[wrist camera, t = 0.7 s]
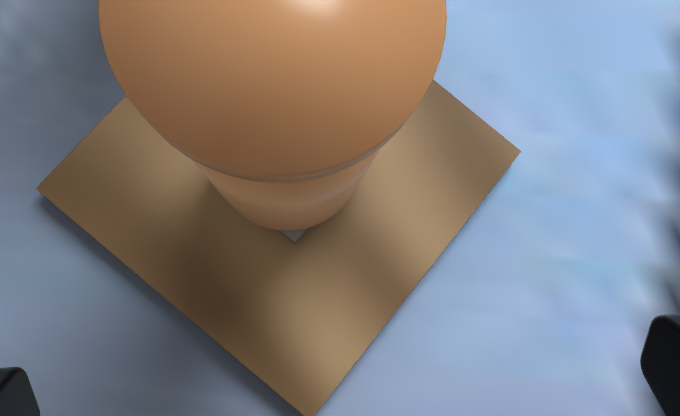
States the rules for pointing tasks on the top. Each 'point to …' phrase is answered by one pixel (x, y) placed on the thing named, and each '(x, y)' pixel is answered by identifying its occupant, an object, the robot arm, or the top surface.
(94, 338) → the top surface
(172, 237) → the thin square board
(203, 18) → the container with domed lid
